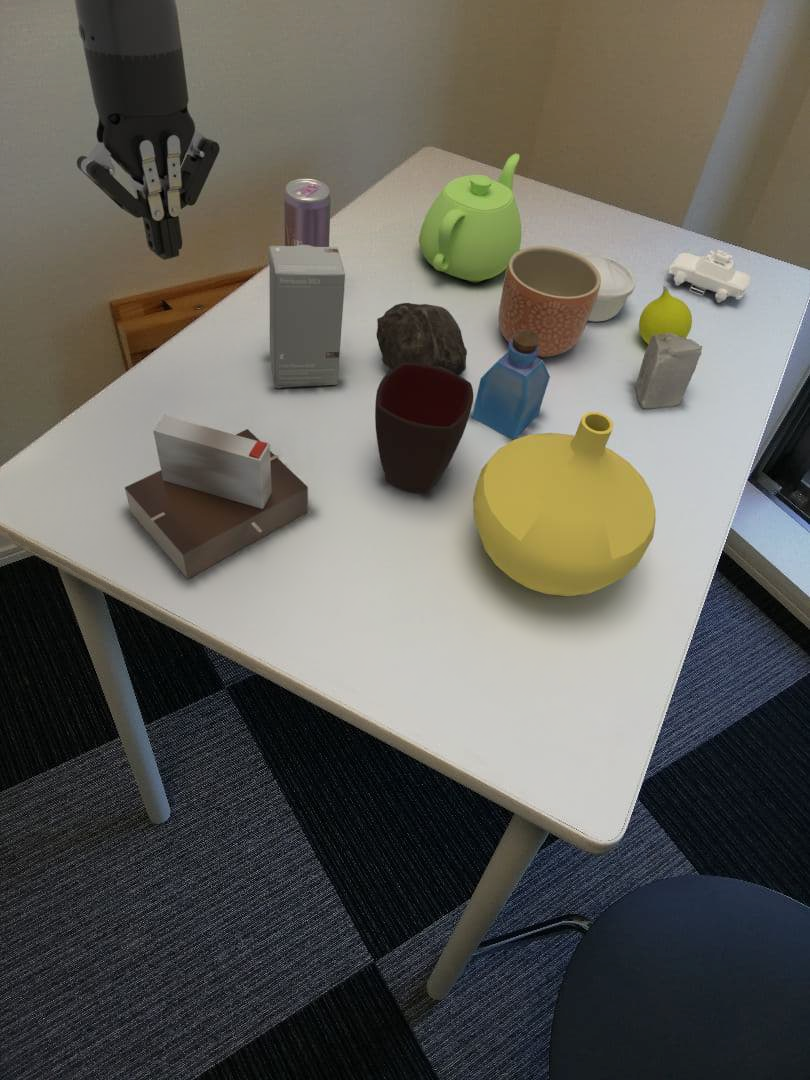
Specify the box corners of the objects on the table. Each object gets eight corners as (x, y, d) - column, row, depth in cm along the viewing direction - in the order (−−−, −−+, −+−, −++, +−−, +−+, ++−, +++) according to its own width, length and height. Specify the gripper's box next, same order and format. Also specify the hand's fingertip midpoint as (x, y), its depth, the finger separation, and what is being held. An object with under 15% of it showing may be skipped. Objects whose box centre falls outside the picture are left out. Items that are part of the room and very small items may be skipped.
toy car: (672, 267, 125) (688, 228, 120) (744, 294, 122) (764, 255, 117) (661, 284, 121) (677, 244, 116) (735, 312, 118) (755, 272, 113)
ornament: (624, 330, 112) (647, 268, 105) (666, 327, 114) (693, 266, 106) (645, 361, 108) (671, 299, 100) (689, 357, 110) (718, 296, 102)
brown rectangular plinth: (198, 593, 76) (194, 568, 73) (120, 501, 82) (112, 474, 79) (320, 523, 83) (321, 497, 80) (239, 443, 90) (237, 416, 86)
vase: (629, 640, 78) (706, 517, 63) (451, 604, 78) (486, 473, 63) (627, 508, 89) (691, 379, 75) (472, 477, 90) (506, 343, 75)
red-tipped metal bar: (163, 480, 79) (152, 428, 74) (173, 465, 81) (164, 413, 75) (263, 509, 78) (260, 458, 73) (271, 493, 80) (269, 442, 74)
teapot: (463, 215, 129) (477, 134, 118) (542, 248, 124) (564, 167, 114) (391, 270, 116) (400, 184, 106) (477, 308, 112) (494, 223, 102)
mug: (357, 490, 87) (364, 409, 78) (397, 415, 95) (407, 334, 86) (440, 516, 86) (457, 438, 76) (473, 438, 94) (491, 359, 85)
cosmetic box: (274, 390, 96) (270, 277, 84) (269, 354, 100) (264, 242, 88) (341, 386, 98) (347, 275, 86) (333, 351, 102) (337, 241, 90)
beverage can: (335, 290, 111) (340, 188, 99) (311, 308, 108) (312, 205, 96) (302, 274, 113) (303, 173, 101) (277, 292, 109) (274, 189, 98)
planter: (538, 380, 103) (559, 309, 94) (473, 332, 108) (488, 262, 100) (596, 348, 109) (621, 279, 100) (532, 304, 114) (551, 236, 106)
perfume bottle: (497, 393, 100) (516, 314, 91) (537, 415, 98) (562, 337, 89) (471, 417, 97) (489, 338, 87) (513, 440, 95) (536, 361, 86)
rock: (478, 385, 99) (478, 316, 92) (395, 405, 98) (389, 337, 90) (451, 344, 106) (450, 277, 99) (373, 362, 104) (366, 295, 97)
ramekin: (639, 315, 115) (651, 283, 111) (585, 335, 110) (596, 303, 106) (588, 276, 121) (598, 245, 116) (535, 294, 116) (544, 262, 112)
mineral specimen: (700, 397, 103) (716, 352, 96) (644, 419, 102) (656, 376, 95) (669, 362, 107) (682, 317, 100) (615, 383, 106) (624, 338, 99)
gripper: (74, 58, 55) (122, 288, 67) (230, 41, 62) (248, 252, 74) (29, 39, 59) (82, 259, 71) (180, 24, 66) (206, 227, 78)
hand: (167, 255), depth 72 cm, fingers closed
